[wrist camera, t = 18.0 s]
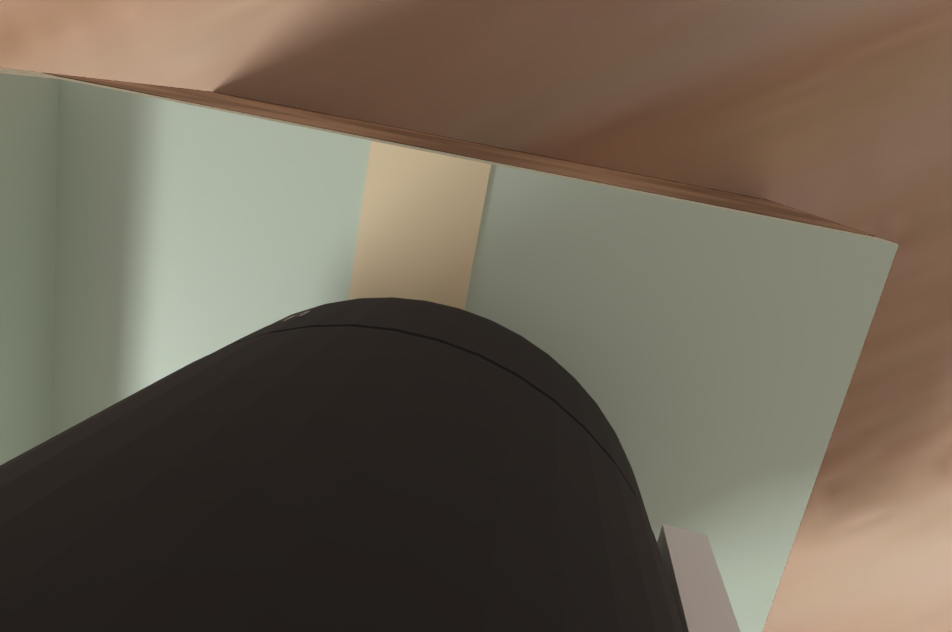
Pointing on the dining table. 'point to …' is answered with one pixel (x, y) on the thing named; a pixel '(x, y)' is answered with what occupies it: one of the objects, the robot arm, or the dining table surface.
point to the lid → (429, 289)
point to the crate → (475, 151)
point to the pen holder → (338, 492)
